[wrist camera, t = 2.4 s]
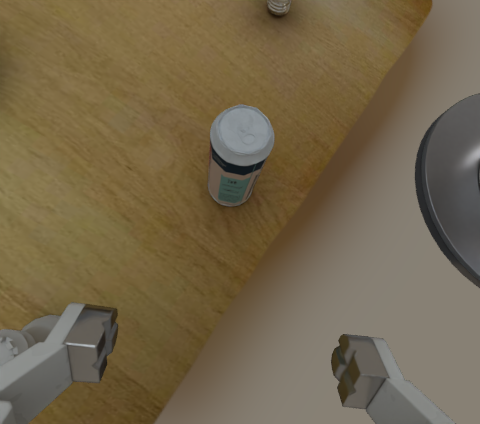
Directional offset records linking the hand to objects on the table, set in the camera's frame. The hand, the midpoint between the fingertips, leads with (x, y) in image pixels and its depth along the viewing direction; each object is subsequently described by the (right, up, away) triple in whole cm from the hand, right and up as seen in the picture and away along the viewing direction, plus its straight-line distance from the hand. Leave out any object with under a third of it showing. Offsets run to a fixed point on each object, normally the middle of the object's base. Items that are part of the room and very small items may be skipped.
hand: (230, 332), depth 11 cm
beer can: (-1, +7, +22) cm, 23 cm away
